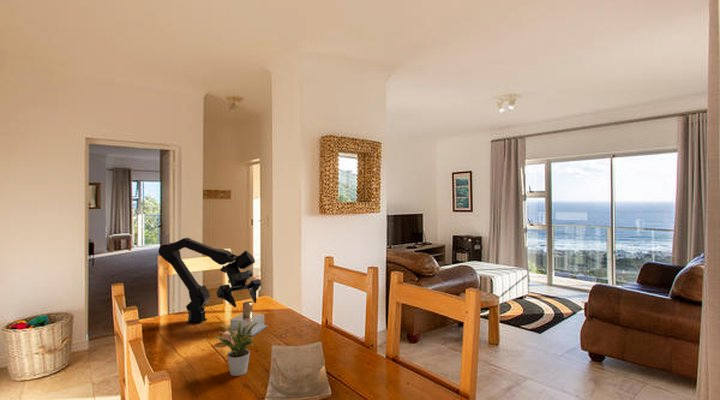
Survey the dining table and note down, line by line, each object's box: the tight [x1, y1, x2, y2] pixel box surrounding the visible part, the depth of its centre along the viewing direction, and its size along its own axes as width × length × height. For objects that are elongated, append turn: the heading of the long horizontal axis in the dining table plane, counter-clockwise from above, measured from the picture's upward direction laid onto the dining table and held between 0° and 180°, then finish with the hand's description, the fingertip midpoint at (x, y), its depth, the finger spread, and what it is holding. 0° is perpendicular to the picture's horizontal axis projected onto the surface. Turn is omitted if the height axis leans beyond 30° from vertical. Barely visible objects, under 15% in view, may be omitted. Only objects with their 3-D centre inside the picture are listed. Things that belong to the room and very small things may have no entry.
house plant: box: [214, 320, 259, 377], centre depth 123 cm, size 14×14×16 cm
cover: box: [229, 301, 265, 334], centre depth 161 cm, size 10×10×11 cm
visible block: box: [221, 329, 238, 345], centre depth 147 cm, size 4×4×4 cm
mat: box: [237, 324, 269, 337], centre depth 161 cm, size 12×12×1 cm
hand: (245, 304), depth 161 cm, fingers open, 9 cm apart
